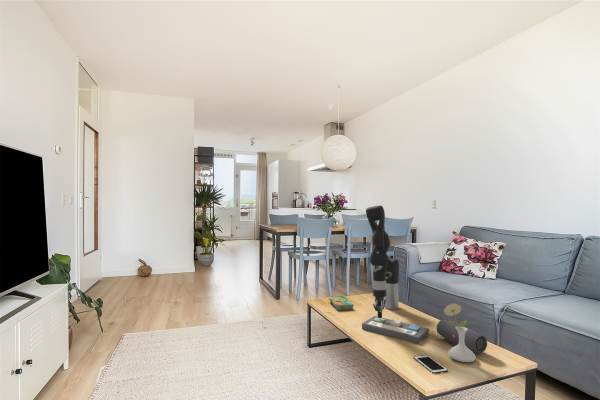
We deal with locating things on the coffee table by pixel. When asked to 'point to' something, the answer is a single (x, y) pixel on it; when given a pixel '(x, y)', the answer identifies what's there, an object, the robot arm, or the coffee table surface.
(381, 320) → the button sage
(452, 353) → the flower in vase
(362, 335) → the coffee table surface
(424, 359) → the cell phone
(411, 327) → the button blue
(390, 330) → the button board
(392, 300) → the robot arm
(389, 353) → the coffee table surface
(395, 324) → the button sand
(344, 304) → the puzzle game
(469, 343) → the bluetooth speaker
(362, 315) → the coffee table surface
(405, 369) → the coffee table surface
